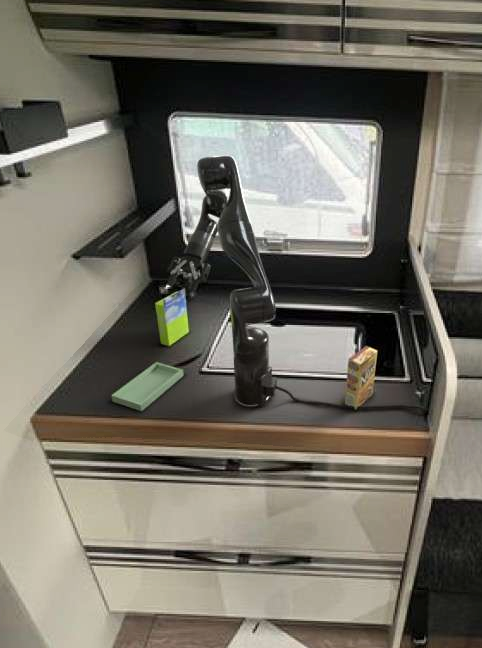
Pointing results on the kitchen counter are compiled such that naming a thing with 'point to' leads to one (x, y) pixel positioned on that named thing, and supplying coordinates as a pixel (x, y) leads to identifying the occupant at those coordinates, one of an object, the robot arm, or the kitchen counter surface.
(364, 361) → the candy box
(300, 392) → the kitchen counter surface
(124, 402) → the green shallow tray
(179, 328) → the box
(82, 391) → the kitchen counter surface
